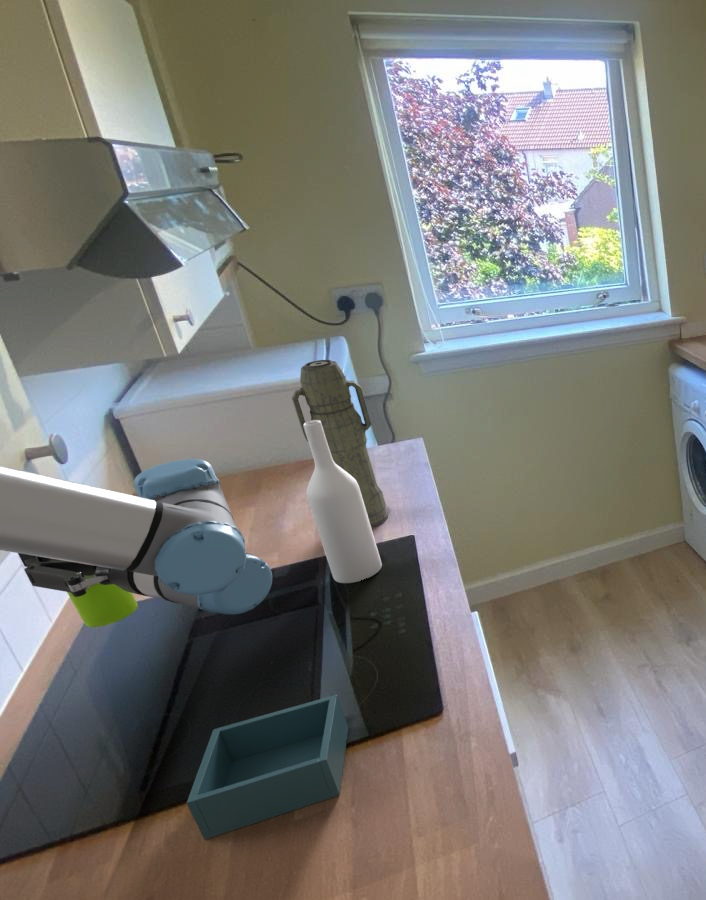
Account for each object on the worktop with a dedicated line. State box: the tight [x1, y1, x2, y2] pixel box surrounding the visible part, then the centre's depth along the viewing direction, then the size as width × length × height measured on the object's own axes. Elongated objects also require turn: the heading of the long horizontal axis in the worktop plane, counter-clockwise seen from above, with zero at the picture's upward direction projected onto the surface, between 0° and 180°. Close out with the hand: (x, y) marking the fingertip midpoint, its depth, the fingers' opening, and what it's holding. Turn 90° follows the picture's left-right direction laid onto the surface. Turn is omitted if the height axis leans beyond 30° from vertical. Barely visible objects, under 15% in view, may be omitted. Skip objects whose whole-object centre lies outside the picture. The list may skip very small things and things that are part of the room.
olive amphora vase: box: [291, 359, 389, 529], centre depth 150 cm, size 9×12×35 cm
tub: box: [186, 694, 349, 841], centre depth 91 cm, size 14×13×6 cm
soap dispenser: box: [66, 583, 139, 628], centre depth 101 cm, size 6×7×20 cm
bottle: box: [303, 420, 383, 584], centre depth 131 cm, size 8×8×30 cm
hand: (53, 544), depth 103 cm, fingers closed on soap dispenser, 6 cm apart
